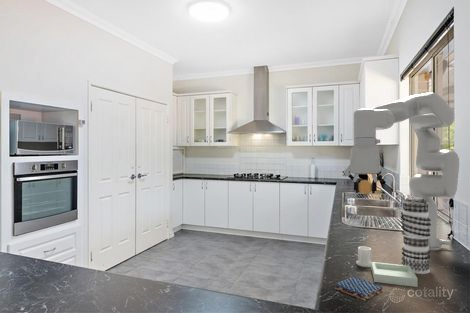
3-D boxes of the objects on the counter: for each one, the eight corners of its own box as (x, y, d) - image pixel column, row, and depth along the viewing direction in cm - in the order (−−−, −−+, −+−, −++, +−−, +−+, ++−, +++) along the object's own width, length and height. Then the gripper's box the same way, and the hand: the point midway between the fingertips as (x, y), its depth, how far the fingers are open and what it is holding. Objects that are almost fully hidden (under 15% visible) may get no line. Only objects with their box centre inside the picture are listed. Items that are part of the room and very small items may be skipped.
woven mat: (332, 290, 94) (332, 283, 94) (353, 281, 101) (353, 275, 101) (364, 303, 86) (364, 295, 86) (384, 293, 92) (385, 286, 92)
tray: (409, 273, 107) (409, 265, 107) (417, 287, 95) (417, 278, 95) (371, 268, 111) (371, 261, 111) (374, 281, 99) (374, 273, 99)
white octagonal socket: (372, 263, 117) (372, 246, 117) (373, 268, 111) (373, 251, 111) (356, 261, 119) (356, 245, 119) (356, 266, 113) (356, 249, 113)
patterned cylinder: (394, 266, 113) (394, 196, 113) (413, 263, 116) (413, 195, 116) (417, 275, 104) (417, 200, 104) (437, 272, 108) (437, 198, 107)
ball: (371, 193, 117) (371, 179, 117) (373, 195, 112) (372, 181, 112) (357, 193, 118) (357, 179, 118) (357, 194, 114) (357, 180, 114)
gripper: (389, 142, 116) (389, 192, 116) (340, 143, 121) (340, 191, 121) (391, 142, 109) (392, 195, 109) (339, 143, 114) (340, 193, 114)
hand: (365, 192), depth 115 cm, fingers closed on ball, 4 cm apart
